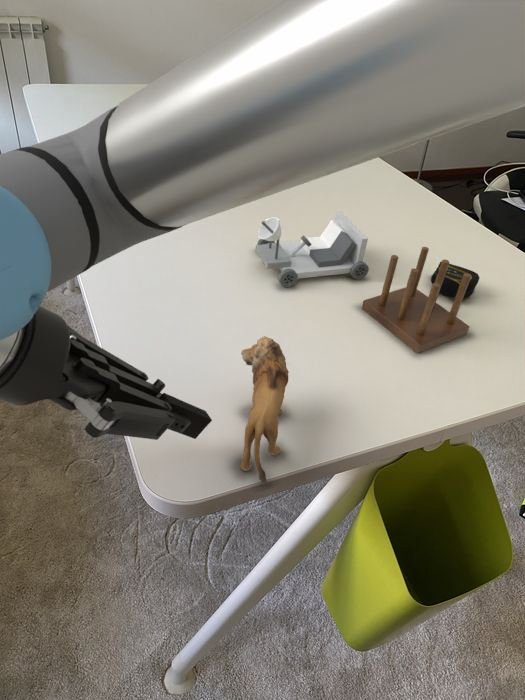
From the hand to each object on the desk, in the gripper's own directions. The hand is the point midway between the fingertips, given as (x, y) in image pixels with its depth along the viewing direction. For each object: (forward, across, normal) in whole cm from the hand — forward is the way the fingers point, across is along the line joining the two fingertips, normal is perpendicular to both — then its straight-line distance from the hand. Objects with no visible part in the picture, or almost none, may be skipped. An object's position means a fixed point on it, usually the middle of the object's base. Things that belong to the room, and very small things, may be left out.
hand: (200, 424), depth 57 cm
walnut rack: (+30, -7, +25) cm, 39 cm away
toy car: (+26, -27, +21) cm, 43 cm away
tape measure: (+38, -11, +33) cm, 52 cm away
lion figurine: (+7, +1, +2) cm, 8 cm away
